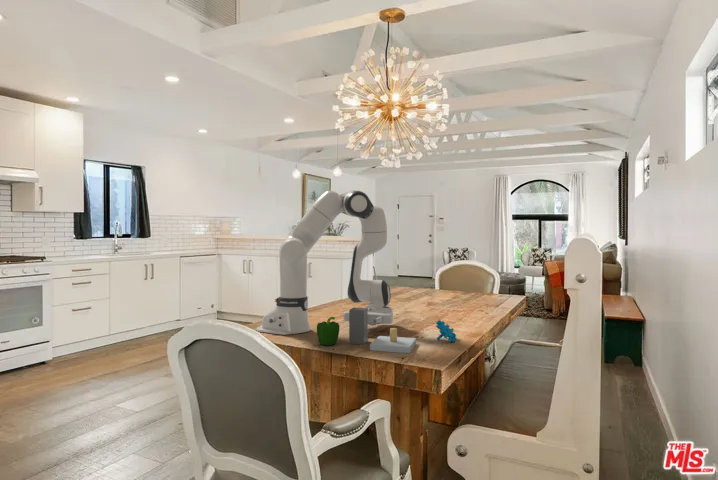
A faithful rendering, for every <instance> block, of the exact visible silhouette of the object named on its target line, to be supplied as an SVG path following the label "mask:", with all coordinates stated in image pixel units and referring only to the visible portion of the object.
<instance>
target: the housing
mask: <svg viewBox="0 0 718 480" xmlns="http://www.w3.org/2000/svg"><path fill="white" fill-rule="evenodd" d="M348 311H349V321H348V325H349V326H348V327H349V329H348V330H349V331H348V333H349V335H348V342H349V344H350V345H351V344H353V345H365V344H367V342H368V341H369V336H368V335H369V330H368V329H369V325H368V308H364V307H352V308H350V309H348Z"/></svg>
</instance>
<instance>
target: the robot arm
mask: <svg viewBox="0 0 718 480" xmlns="http://www.w3.org/2000/svg"><path fill="white" fill-rule="evenodd" d="M340 214H344V215H347V216H350V217H353V218H354V217H356V218H358V219H359V221H360V224H361V236H360V240H359V243H357V244H356V245H354V248H353V249H354V250H353V254H352V261H351V265H350V266H351V267H350V275H349V281H348V286H347V297H348V298H349V301H351V302H353V304H354V303H355V304H356V303H358V304H359V303H368V304H367V305H365V306H363V308H368V326H376V325H382V324H385V325H386V324H389V325H391V324H393V323H394V311H393V308H392V307H390V306H389V304H390V302H391V295H392V294H391V288H390V285H389V284H388V282H387V281H385V280H384V279H372V280H371V279H369V280H368V279H366V280H365V279H361V274H362V267H363V261H364V259H365V258H367V257H368V256H371V255H372V254H375V253H377V252H380V251H382V250H383V249H384V248H385V246H386V244H387V242H388V228H387V227H388V226H387V218H386V214H385V211H384V209H383V208H382V207H380V206H376V205H373V203H372V201H371V200H370V198H369V196H368V195H367V194H366V193H365V192H363V191H361V190H350V191H347V192H345V193H342V194H339V193H338V192H336V191H334V190H326V191H325V192H323V193H322V195H320V196H319V197H318V198H317V199H316V200H315V202H314V203H313V204H312V205H311V206H310V207H309V209H308V210H307V211H306V213H305V214H304V215H303V217H302V218H301V219H300V220H299V222H298V223H297V224H296V225H295V227H294V228H293V229H292V231H291V232H290V233H289V235H287V237H286V239H285V240H284V241H283V242H282V243H281V245H280V246H279V293H280V294H279V296H278V297H277V298H275V299H274V303H276V304H275V306H274V307H273V308H271V309H270V310H269V311H268V312H266V313H265V314H264V315H263V317H262V321H261V325H259V326H257V327H256V330H257V331H256V332H260V333H267V334H274V335H283V336H285V335H292V334H293V335H294V334H295V335H296V334H301V333H307V332H310V331H311V327H310V325H311V324H310V322H309V317H308V316H309V315H308V308H309V302H308V298H309V297H308V295H307V294H308V290H307V287H308V286H307V283H308V281H307V280H308V279H307V276H308V275H307V274H308V273H307V272H308V271H307V269H308V268H307V267H308V264H307V263H308V259H307V258H308V256H307V255H308V253H309V252H310V251H311V250H312V248H313V247H314V246H315V245H316V243H317V242H318V241H319V239H321V238H322V236H323V235H324V233H325V232H326V231H327V230H328V228H329V227H330V225H332V223H333V222H334V220H336V218H337V217H338V216H339V215H340ZM343 321H345V322H349V310H346V311H344V312H343Z"/></svg>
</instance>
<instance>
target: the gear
mask: <svg viewBox="0 0 718 480" xmlns="http://www.w3.org/2000/svg"><path fill="white" fill-rule="evenodd" d="M435 324H436V328H437V329H438V331H439V333H440V335H438V336H437V337H436V340H438V341H439V340H440V339H442V338H444V339H447V338H448V339H447V340H448V342H452V343H456V340H458V338H457V334H456V333H455V332H454V331H455V330H454V328H453V327H451V328H450V325H449V324H448V323H447V324H446V322H445V321H444V320H442V321H441V320H440V319H438V320H437V322H436V323H435Z"/></svg>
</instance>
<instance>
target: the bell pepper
mask: <svg viewBox="0 0 718 480" xmlns="http://www.w3.org/2000/svg"><path fill="white" fill-rule="evenodd" d="M335 319H336V317H334V316H330V317H328V318H327V320H326V321H322V322H318V323H317V325H316V334H317V340H318V342H319V344H321V345H323V346H332V345H334V344H337V342H338V339H339V335H340V323H338V322H336V321H333V320H335ZM331 320H332V321H331Z"/></svg>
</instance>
